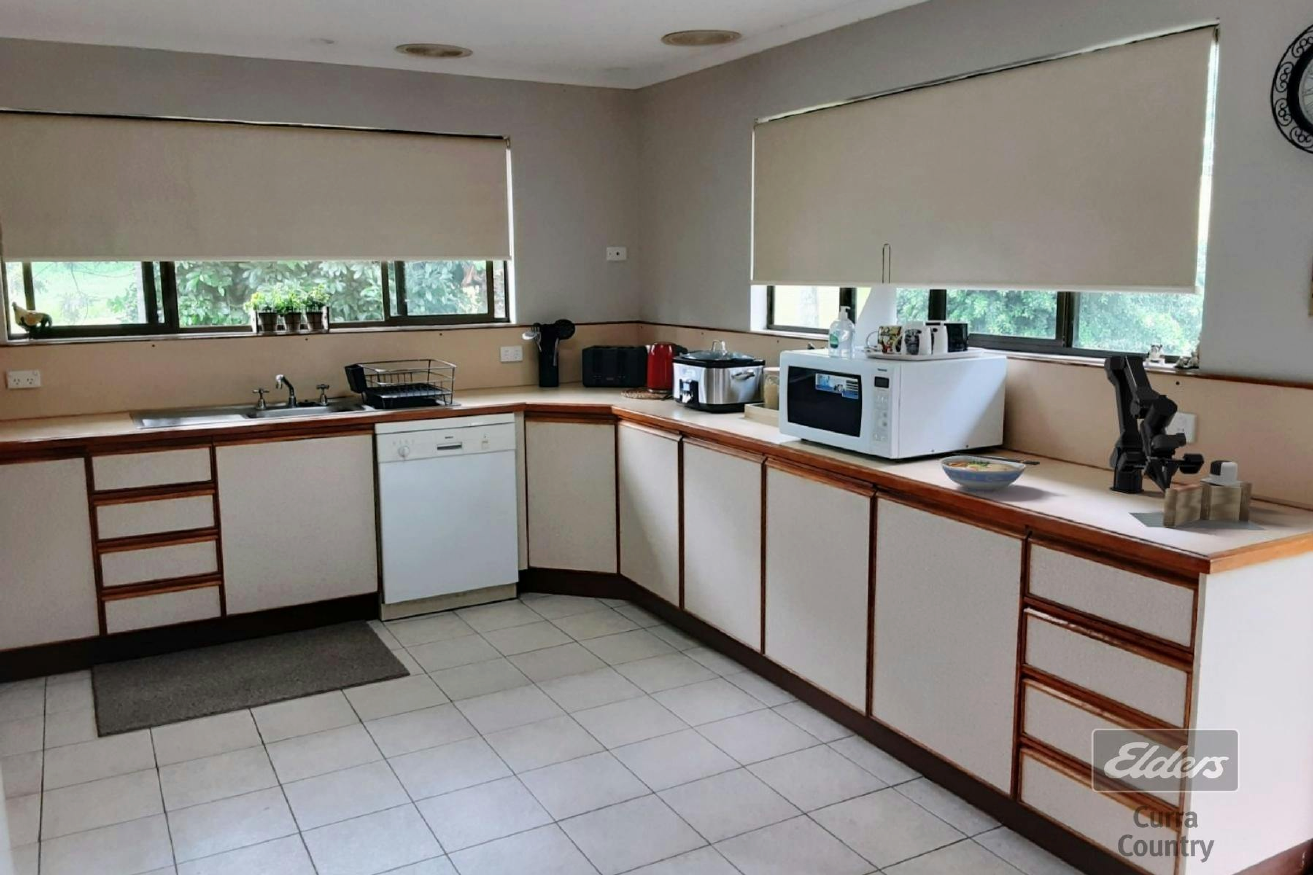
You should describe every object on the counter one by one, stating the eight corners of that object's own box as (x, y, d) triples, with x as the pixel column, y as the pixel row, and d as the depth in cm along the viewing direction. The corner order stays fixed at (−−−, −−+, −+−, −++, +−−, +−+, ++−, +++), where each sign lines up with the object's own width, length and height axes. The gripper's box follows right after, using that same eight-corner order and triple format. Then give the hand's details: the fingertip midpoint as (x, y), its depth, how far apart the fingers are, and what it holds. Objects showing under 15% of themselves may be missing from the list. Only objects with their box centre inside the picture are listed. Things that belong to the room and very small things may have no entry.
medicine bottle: (1197, 506, 261) (1201, 459, 259) (1218, 503, 264) (1222, 457, 262) (1221, 512, 255) (1226, 464, 253) (1243, 509, 257) (1247, 462, 255)
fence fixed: (1197, 520, 246) (1200, 483, 244) (1193, 517, 248) (1196, 481, 246) (1250, 521, 244) (1253, 484, 243) (1245, 518, 246) (1249, 482, 245)
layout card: (1147, 528, 240) (1147, 526, 240) (1128, 514, 254) (1128, 512, 253) (1266, 531, 236) (1266, 529, 236) (1240, 516, 250) (1240, 514, 250)
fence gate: (1191, 517, 247) (1194, 482, 245) (1201, 519, 245) (1204, 484, 243) (1160, 525, 240) (1163, 489, 238) (1170, 527, 238) (1173, 490, 236)
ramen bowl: (918, 488, 283) (919, 459, 282) (960, 476, 299) (962, 448, 298) (1003, 503, 266) (1005, 472, 264) (1043, 489, 281) (1045, 460, 280)
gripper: (1124, 420, 253) (1136, 473, 244) (1205, 421, 251) (1219, 475, 242) (1112, 445, 262) (1123, 497, 253) (1190, 446, 260) (1203, 499, 251)
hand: (1166, 492), depth 250 cm, fingers closed
